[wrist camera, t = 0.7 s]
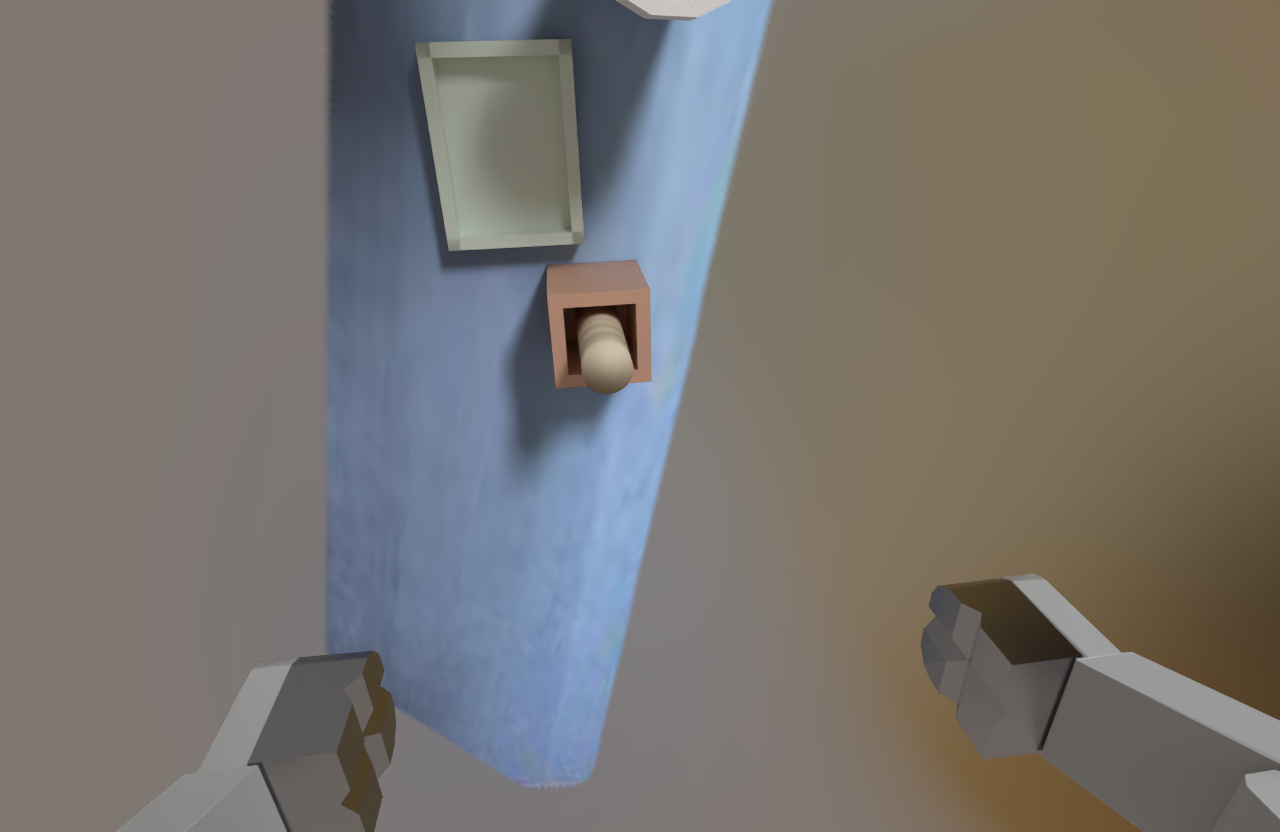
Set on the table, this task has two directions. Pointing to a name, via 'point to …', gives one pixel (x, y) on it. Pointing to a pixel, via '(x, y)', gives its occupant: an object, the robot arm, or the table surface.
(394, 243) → the table surface
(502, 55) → the tray
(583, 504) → the table surface
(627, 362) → the dowel
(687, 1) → the foam cup
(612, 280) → the brown hollow block
